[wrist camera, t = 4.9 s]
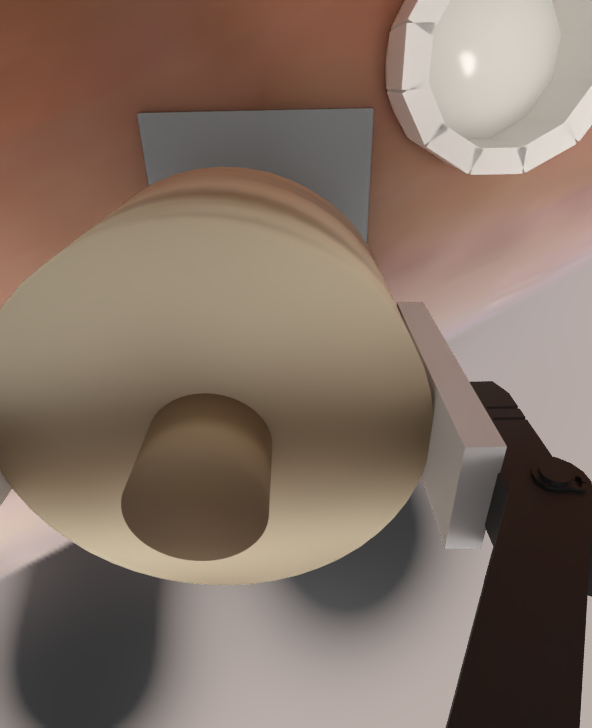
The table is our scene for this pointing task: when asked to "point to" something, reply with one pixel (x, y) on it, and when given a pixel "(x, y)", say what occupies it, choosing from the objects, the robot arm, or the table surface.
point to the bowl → (492, 80)
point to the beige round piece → (213, 384)
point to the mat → (270, 149)
